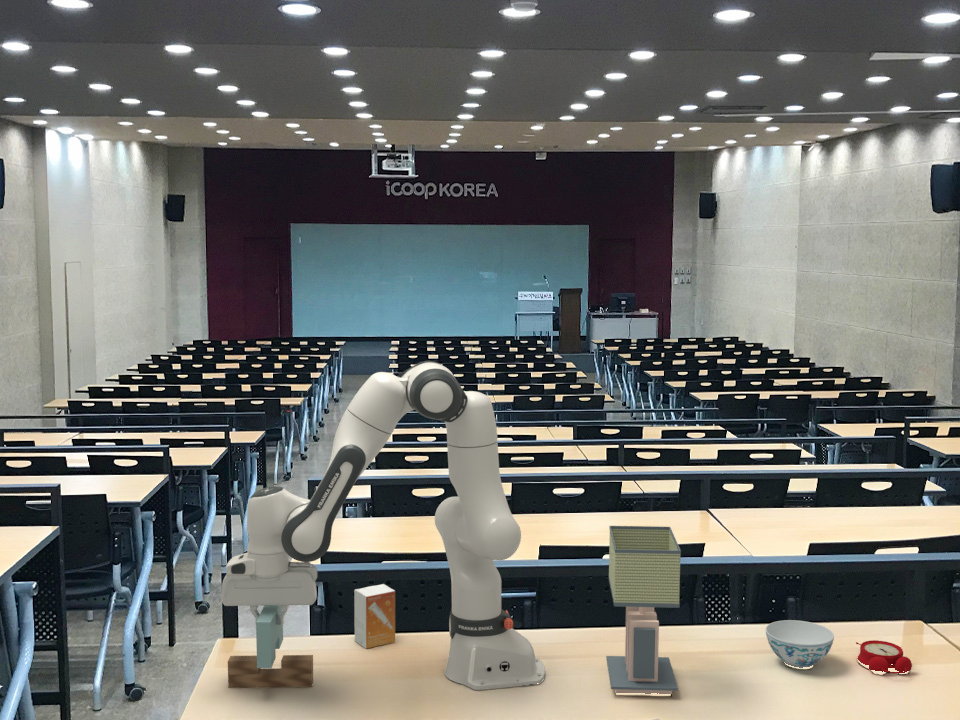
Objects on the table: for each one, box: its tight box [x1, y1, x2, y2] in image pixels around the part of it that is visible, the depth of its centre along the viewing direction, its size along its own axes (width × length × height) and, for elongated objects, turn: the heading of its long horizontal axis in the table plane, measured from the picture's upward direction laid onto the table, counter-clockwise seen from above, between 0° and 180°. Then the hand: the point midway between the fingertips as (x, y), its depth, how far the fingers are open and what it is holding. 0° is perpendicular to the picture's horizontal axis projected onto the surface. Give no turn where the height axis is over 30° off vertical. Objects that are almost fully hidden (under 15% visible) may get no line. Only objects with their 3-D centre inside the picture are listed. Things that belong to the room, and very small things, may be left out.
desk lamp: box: [606, 525, 682, 695], centre depth 230 cm, size 18×14×33 cm
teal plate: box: [255, 605, 284, 669], centre depth 229 cm, size 3×16×10 cm, turn 2°
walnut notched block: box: [227, 654, 314, 689], centre depth 230 cm, size 18×3×6 cm, turn 92°
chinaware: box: [765, 619, 835, 668], centre depth 242 cm, size 15×15×8 cm
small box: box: [353, 583, 396, 650], centre depth 254 cm, size 8×6×13 cm
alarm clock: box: [855, 639, 913, 674], centre depth 241 cm, size 10×6×15 cm
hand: (269, 624), depth 229 cm, fingers closed on teal plate, 3 cm apart
